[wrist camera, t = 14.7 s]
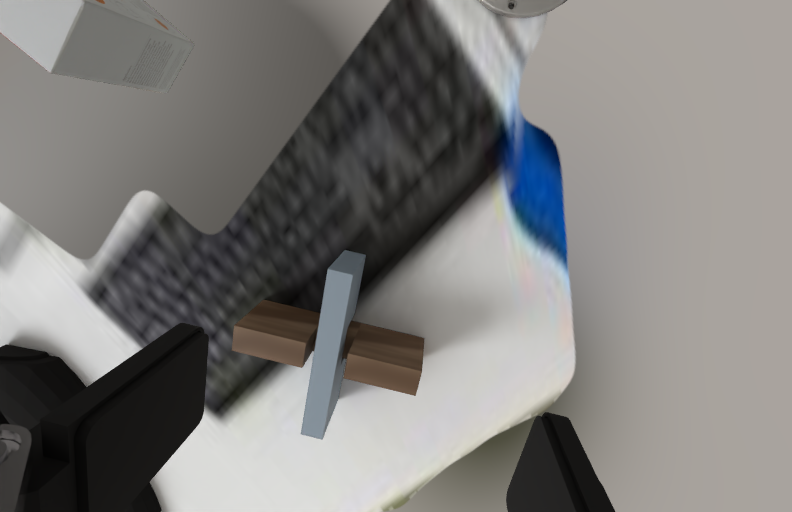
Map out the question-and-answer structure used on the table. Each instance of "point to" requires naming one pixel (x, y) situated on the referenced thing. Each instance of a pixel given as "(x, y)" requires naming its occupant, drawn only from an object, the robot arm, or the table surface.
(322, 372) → the plain gray rectangular bar
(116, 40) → the small box
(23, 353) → the docking station
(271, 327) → the slotted board
